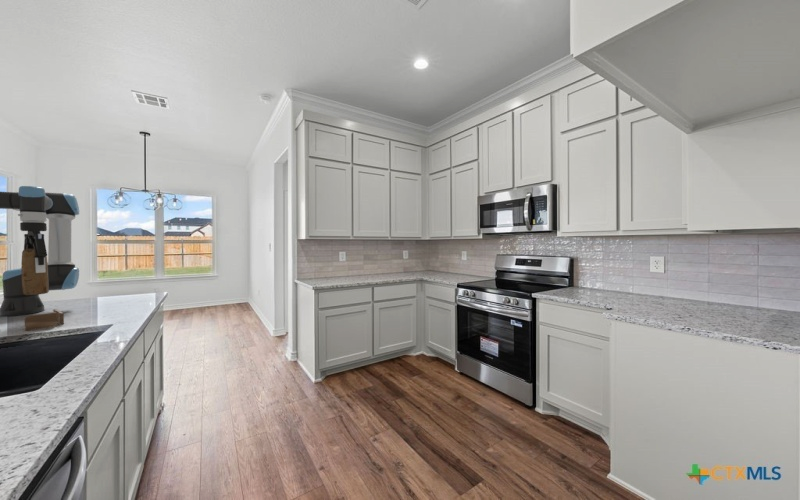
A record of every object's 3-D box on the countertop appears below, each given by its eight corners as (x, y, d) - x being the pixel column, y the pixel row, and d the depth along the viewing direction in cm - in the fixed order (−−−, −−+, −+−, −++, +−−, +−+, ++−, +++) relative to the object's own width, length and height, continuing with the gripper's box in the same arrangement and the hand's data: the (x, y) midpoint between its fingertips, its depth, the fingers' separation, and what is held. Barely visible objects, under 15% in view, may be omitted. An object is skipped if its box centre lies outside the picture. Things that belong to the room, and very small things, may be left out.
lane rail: (53, 319, 149) (53, 309, 149) (56, 319, 150) (55, 309, 150) (61, 324, 142) (60, 313, 142) (63, 323, 142) (63, 313, 142)
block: (47, 294, 138) (45, 248, 137) (21, 296, 132) (19, 249, 131) (50, 291, 145) (48, 247, 144) (25, 293, 140) (23, 248, 139)
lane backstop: (25, 330, 133) (24, 316, 132) (56, 325, 140) (55, 312, 140) (25, 330, 132) (25, 316, 132) (57, 325, 139) (56, 312, 139)
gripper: (11, 222, 139) (13, 271, 140) (30, 221, 129) (32, 274, 130) (36, 222, 146) (38, 269, 147) (56, 222, 135) (58, 272, 136)
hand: (35, 271), depth 138 cm, fingers closed on block, 11 cm apart
